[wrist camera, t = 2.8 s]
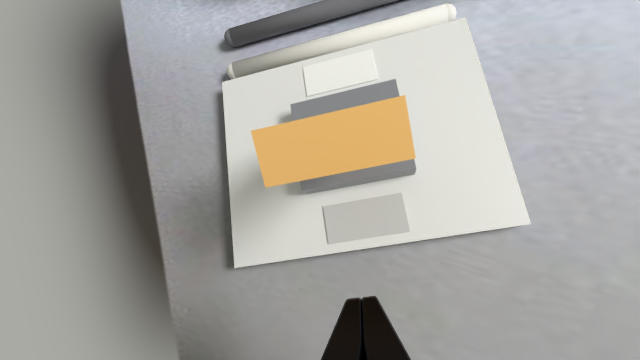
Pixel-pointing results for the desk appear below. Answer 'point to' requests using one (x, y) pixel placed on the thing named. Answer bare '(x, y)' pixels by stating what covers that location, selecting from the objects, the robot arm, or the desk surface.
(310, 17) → the rods
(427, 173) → the breaker panel
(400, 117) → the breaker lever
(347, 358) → the robot arm
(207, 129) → the desk surface
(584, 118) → the desk surface
